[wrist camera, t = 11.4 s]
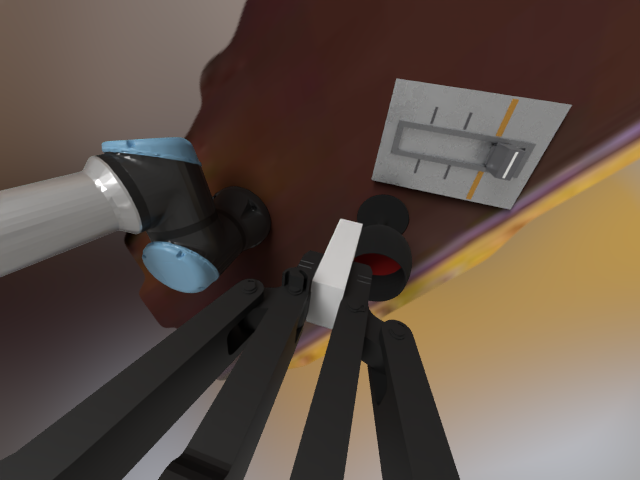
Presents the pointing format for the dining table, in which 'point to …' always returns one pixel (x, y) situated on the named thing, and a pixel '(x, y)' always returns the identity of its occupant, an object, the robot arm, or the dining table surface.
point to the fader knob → (503, 160)
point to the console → (461, 140)
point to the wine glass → (384, 245)
